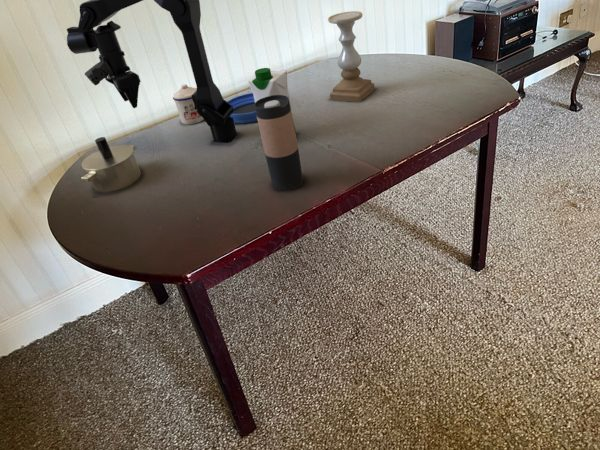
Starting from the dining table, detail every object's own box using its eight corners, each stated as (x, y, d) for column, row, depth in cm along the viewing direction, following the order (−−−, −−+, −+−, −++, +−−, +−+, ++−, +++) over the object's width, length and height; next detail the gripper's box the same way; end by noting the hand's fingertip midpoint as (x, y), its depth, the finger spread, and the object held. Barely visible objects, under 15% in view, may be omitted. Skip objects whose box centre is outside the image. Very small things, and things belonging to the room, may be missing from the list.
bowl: (214, 124, 148) (211, 113, 146) (240, 102, 161) (238, 92, 159) (264, 125, 141) (262, 114, 139) (287, 101, 154) (285, 91, 152)
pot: (156, 166, 129) (148, 144, 125) (112, 201, 116) (101, 177, 112) (123, 163, 134) (114, 142, 130) (77, 196, 121) (65, 173, 117)
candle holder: (375, 88, 150) (370, 9, 137) (360, 102, 143) (353, 20, 130) (345, 87, 156) (337, 11, 142) (329, 99, 149) (319, 21, 135)
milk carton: (259, 145, 129) (243, 73, 118) (274, 131, 136) (259, 62, 124) (287, 146, 126) (273, 73, 114) (301, 132, 132) (289, 61, 121)
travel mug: (271, 177, 113) (253, 98, 101) (302, 172, 113) (288, 92, 101) (272, 193, 107) (253, 111, 95) (305, 187, 106) (290, 104, 95)
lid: (145, 150, 123) (137, 128, 120) (110, 175, 114) (100, 153, 110) (108, 147, 129) (99, 127, 125) (72, 171, 119) (61, 150, 116)
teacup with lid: (185, 127, 149) (174, 92, 143) (177, 120, 156) (166, 86, 150) (219, 115, 153) (210, 81, 147) (210, 109, 160) (201, 75, 154)
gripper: (73, 53, 131) (96, 106, 140) (87, 63, 117) (111, 121, 126) (112, 42, 135) (131, 94, 144) (130, 50, 121) (150, 107, 130)
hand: (130, 104), depth 136 cm, fingers open, 9 cm apart
